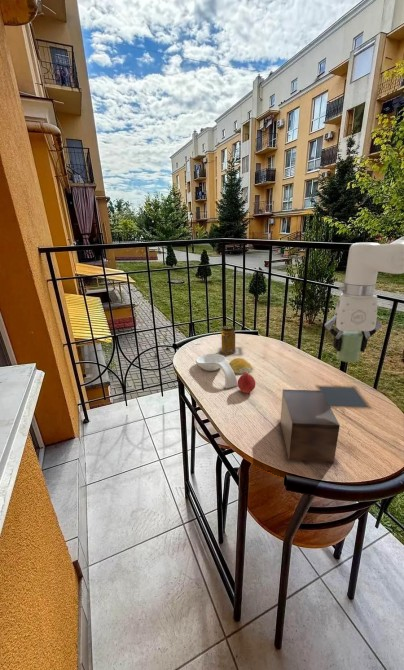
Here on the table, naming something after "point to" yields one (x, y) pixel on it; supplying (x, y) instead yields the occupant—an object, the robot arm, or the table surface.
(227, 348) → the condiment
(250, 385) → the onion
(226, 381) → the spoon rest
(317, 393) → the brown block
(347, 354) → the tea tin
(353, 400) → the mat
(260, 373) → the table surface
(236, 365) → the bread roll
